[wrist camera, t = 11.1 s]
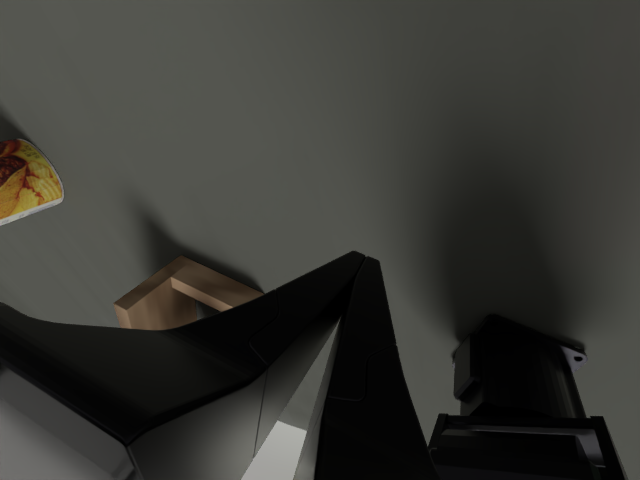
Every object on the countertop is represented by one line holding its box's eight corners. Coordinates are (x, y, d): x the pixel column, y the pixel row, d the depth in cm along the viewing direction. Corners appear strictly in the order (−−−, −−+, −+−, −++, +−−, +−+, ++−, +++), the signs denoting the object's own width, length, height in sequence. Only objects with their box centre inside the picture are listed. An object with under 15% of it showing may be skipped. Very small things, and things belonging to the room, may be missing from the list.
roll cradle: (265, 294, 31) (213, 357, 25) (254, 382, 41) (215, 443, 34) (180, 255, 33) (113, 303, 27) (190, 347, 43) (142, 398, 37)
